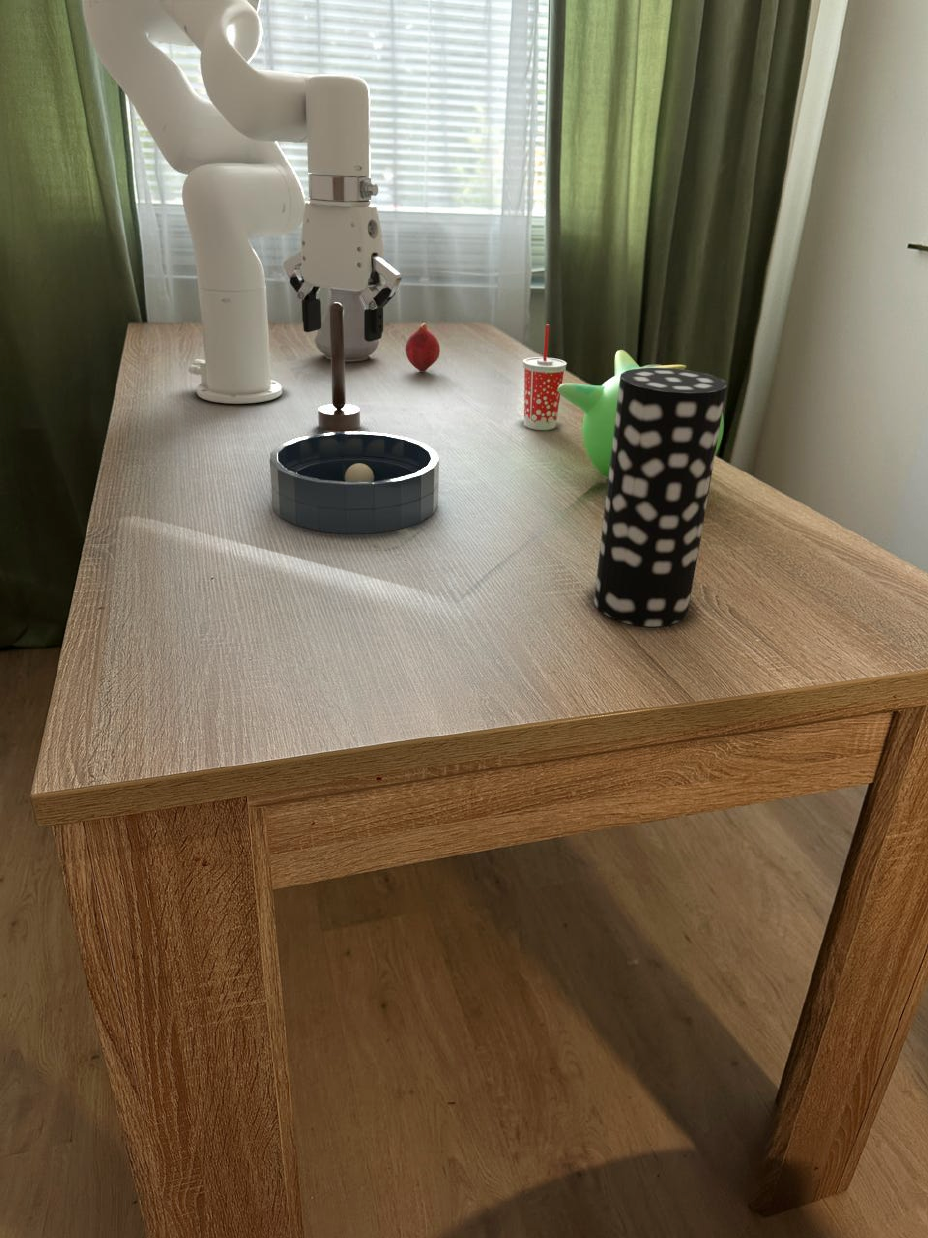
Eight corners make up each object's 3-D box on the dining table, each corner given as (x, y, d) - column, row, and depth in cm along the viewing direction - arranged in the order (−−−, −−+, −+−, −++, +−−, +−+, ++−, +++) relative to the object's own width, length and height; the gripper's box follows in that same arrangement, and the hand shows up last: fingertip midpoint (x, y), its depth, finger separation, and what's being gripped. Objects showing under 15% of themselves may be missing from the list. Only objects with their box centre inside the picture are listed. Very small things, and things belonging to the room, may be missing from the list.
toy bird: (681, 520, 101) (702, 386, 94) (544, 487, 108) (555, 361, 102) (731, 477, 114) (753, 357, 108) (607, 451, 122) (620, 337, 115)
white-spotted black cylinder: (585, 584, 85) (609, 366, 76) (672, 584, 86) (707, 368, 77) (605, 627, 78) (634, 391, 69) (700, 626, 79) (742, 393, 70)
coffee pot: (386, 362, 163) (386, 273, 156) (322, 365, 160) (319, 273, 153) (357, 338, 181) (356, 257, 174) (299, 340, 177) (295, 257, 170)
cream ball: (347, 464, 103) (344, 460, 100) (376, 466, 103) (373, 462, 100) (345, 493, 103) (342, 489, 100) (374, 495, 104) (371, 491, 100)
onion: (434, 376, 156) (435, 327, 152) (401, 373, 157) (401, 325, 153) (442, 369, 161) (443, 321, 157) (410, 366, 162) (410, 319, 158)
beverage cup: (569, 426, 132) (579, 325, 126) (543, 434, 128) (551, 330, 122) (536, 416, 136) (544, 318, 129) (509, 424, 132) (516, 323, 125)
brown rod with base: (311, 433, 124) (306, 303, 116) (331, 423, 129) (327, 297, 121) (348, 439, 122) (345, 307, 115) (367, 428, 127) (365, 301, 119)
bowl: (238, 518, 96) (234, 463, 94) (334, 472, 110) (332, 423, 108) (382, 554, 90) (382, 496, 87) (464, 500, 104) (466, 449, 101)
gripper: (416, 195, 113) (413, 339, 121) (299, 186, 119) (305, 322, 127) (384, 197, 107) (383, 348, 115) (263, 187, 113) (271, 331, 121)
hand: (342, 334), depth 121 cm, fingers open, 9 cm apart
